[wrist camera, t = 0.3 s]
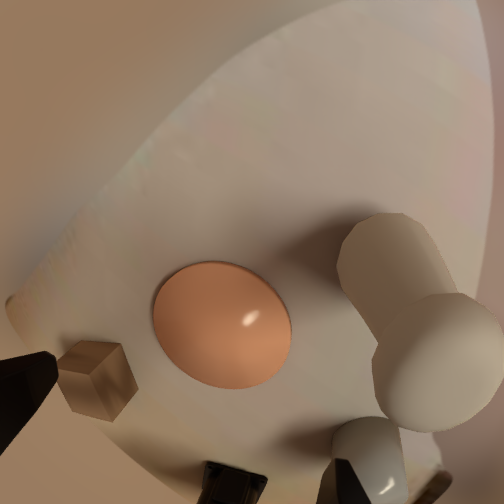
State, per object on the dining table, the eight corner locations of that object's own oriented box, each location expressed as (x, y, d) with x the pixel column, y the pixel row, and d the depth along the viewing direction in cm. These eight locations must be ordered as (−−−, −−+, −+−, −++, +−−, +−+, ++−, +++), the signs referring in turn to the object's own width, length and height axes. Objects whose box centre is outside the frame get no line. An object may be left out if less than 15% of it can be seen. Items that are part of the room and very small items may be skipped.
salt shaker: (319, 273, 20) (306, 433, 8) (359, 190, 18) (430, 251, 6) (397, 309, 19) (453, 469, 7) (439, 232, 18) (566, 336, 5)
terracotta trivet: (273, 396, 23) (272, 403, 23) (156, 359, 25) (151, 364, 24) (307, 282, 20) (307, 287, 19) (163, 245, 22) (157, 248, 21)
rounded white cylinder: (381, 461, 24) (385, 520, 17) (322, 453, 24) (316, 515, 18) (411, 420, 22) (423, 484, 15) (346, 411, 23) (346, 480, 16)
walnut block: (139, 388, 27) (112, 422, 22) (99, 382, 28) (72, 411, 23) (121, 343, 25) (88, 374, 21) (82, 340, 27) (49, 366, 22)
